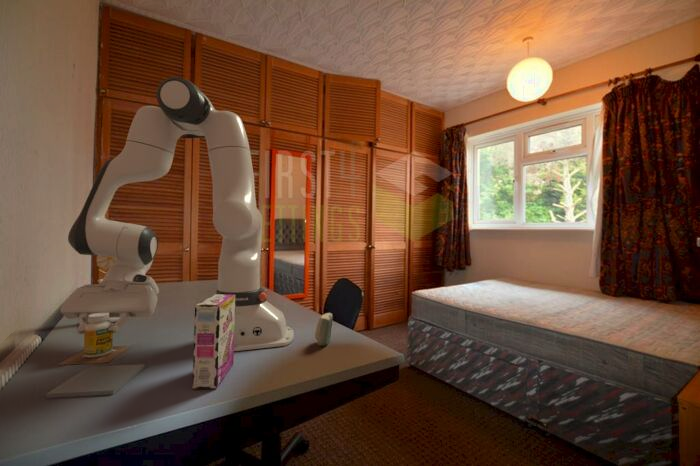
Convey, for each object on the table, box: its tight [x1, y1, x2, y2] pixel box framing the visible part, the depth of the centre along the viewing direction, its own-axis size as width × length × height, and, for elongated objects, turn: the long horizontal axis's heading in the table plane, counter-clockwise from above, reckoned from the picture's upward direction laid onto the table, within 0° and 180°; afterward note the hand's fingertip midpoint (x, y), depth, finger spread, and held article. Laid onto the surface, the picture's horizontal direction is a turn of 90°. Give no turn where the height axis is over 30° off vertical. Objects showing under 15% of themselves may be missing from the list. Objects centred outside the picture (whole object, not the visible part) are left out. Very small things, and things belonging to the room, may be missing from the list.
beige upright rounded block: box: [314, 312, 334, 348], centre depth 83 cm, size 6×5×8 cm
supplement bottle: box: [83, 312, 114, 358], centre depth 74 cm, size 5×5×10 cm
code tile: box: [58, 345, 133, 366], centre depth 74 cm, size 10×10×1 cm
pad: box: [45, 363, 146, 399], centre depth 61 cm, size 11×11×1 cm
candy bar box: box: [192, 293, 236, 390], centre depth 64 cm, size 11×5×16 cm, turn 5°
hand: (97, 332), depth 73 cm, fingers closed on supplement bottle, 5 cm apart
